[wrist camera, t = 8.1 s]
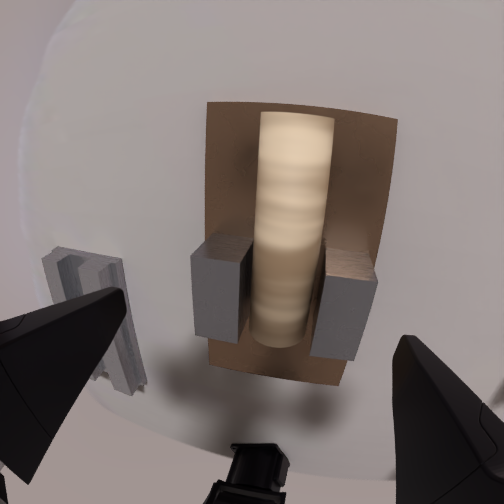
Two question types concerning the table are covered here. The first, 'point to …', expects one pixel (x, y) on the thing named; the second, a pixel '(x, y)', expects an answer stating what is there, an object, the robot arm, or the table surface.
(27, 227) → the table surface
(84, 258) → the v block
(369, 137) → the brown board with blocks
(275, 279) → the wooden axle
